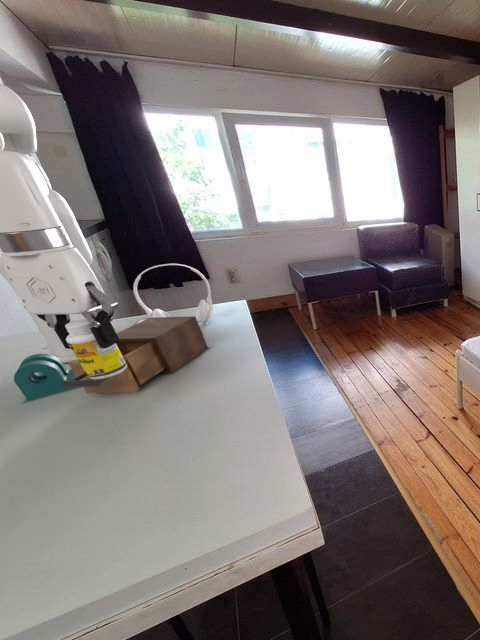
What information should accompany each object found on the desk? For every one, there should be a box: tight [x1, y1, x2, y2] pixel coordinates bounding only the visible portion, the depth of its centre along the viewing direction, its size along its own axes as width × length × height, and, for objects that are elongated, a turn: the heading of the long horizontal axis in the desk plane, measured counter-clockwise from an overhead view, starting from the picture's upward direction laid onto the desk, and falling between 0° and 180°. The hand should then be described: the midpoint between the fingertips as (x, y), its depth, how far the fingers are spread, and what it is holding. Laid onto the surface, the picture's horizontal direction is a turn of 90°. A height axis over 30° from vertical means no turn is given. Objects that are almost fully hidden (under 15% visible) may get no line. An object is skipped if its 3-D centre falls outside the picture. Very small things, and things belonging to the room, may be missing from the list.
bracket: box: [13, 353, 77, 402], centre depth 86 cm, size 18×7×8 cm, turn 130°
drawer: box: [62, 341, 166, 394], centre depth 82 cm, size 17×11×8 cm, turn 178°
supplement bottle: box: [65, 319, 127, 379], centre depth 65 cm, size 6×6×10 cm
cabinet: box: [116, 315, 209, 374], centre depth 94 cm, size 14×13×10 cm
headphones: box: [133, 263, 214, 325], centre depth 112 cm, size 7×18×20 cm, turn 127°
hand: (93, 344), depth 65 cm, fingers closed on supplement bottle, 5 cm apart
